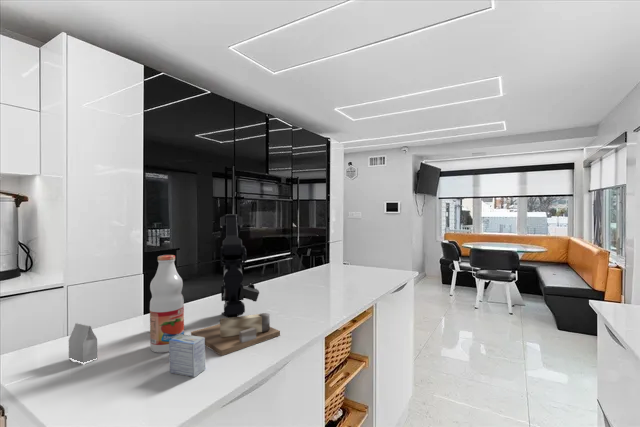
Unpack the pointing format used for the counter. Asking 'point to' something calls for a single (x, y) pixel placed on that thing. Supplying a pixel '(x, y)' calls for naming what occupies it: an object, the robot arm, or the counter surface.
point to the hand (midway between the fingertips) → (233, 326)
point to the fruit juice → (166, 305)
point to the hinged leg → (244, 324)
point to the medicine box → (187, 355)
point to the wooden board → (233, 338)
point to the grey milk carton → (82, 343)
